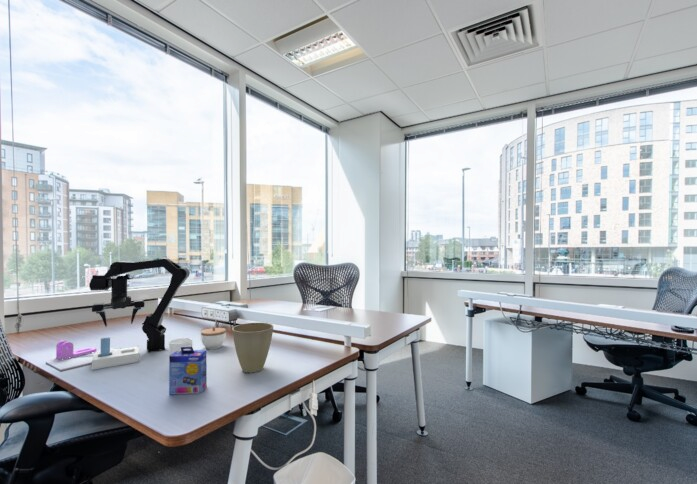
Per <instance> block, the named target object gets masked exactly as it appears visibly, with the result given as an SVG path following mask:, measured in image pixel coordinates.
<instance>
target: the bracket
mask: <svg viewBox="0 0 697 484" xmlns="http://www.w3.org/2000/svg"><path fill="white" fill-rule="evenodd" d="M55 349H56V351H55V352H56V355H55V358H56V359H57V358H58V360H60V359H65V358H69V357H73V358H76V357H75V356H78V357H80V356H79V355H82V356H84V355H83V354H86V355H88V354H87V353H90V354H92V352H94V353H97V347H86V348H81V349H76V350H74V343H73V342H71V341H66V340H60V341H58V342H57V344H56V347H55ZM69 359H70V358H69ZM65 360H66V359H65Z"/></svg>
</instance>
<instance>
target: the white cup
mask: <svg viewBox="0 0 697 484" xmlns="http://www.w3.org/2000/svg"><path fill="white" fill-rule="evenodd" d="M168 345H169V356H170V355H171V354H173V353H174V352H176V351H181V347H192V348H193V339H192V338H190V337H189V338H188V337H183V338H176V339H175V338H174V339H173V340H170V341H168ZM183 350H191V349H183Z"/></svg>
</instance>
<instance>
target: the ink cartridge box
mask: <svg viewBox="0 0 697 484" xmlns="http://www.w3.org/2000/svg"><path fill="white" fill-rule="evenodd" d="M183 349H191V350H183ZM168 357H169V358H168V361H169V362H168V363H169V364H168V368H169V369H168V370H169V371H168V372H169V373H168V375H169V376H168V382H169V383H168V395H199V394H202V393H203V391H204V390H206V388H207V386H208V385H207V382H208V381H207V377H208V376H207V374H208V373H207V370H208V369H207V367H208V366H207V365H208V364H207V349H205V350H204V349H203V350H202V349H201V350H199V349H198V350H195V349H194V348H193V346H192V347H181V351H176V352H174V353H173V354H171V355H170V354H169V356H168Z"/></svg>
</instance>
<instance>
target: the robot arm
mask: <svg viewBox="0 0 697 484" xmlns="http://www.w3.org/2000/svg"><path fill="white" fill-rule="evenodd" d="M158 268H163V269H165V270H166V271H167V272H168V273H169V274H170V275H171V278H170V282H169V286H168V287H167V289H166V291H165V292H164V294H163V296H162V298H161V300H160V301H159V303H158V305H157V306H156V308H155V310H154V312H153V313H149V314H148V315H146V316H145V320H144V321H143V322H142V323H141V325H142V327H141V330H142V332H143V333H144V334H145V335H146V338H147V339H146V350H147V352H148V353H152V352H158V351H163V350H164V351H165V350H166V346H165V345H166V344H165V343H166V341H165V340H166V338H165V337H166V335H165V333H166V331H167V327H165V326H164V325H162V323H163V320H164V315H165V313H166V311H167V310H168V307H169V306H170V304H171V303H172V301H173V299H174V298H175V295H176V294H177V292H178V291H179V288H180V287H181V286H182V285H183V284H184V283H185V281H186V280H187V279H188V278H189V277H190V270H189V269H188V268H187V267H182V266H181V265H179V264H178V263H176V262H174V261H172V260H171V259H170V258H168V257H167V258H166V257H165V258H162V259H154V260H145V261H125V260H123V261H114V262H112V263H111V264H110V266H109V269H108V270H107V272H106V273H105V274H103V275H102V274H94V275H92V276H91V277H92V278H91V279H90V281H89V284H88V285H89V289H90V291H91V292H92V291H95V292H96V291H98V292H99V291H108V290H110V289H111V292H110V293H111V294H110V295H111V298H110V303H109V304H105V302H99V303H93V305H92V307H91V312H92V313H95V314H99V316H100V317H101V319H102V321H103V324H104V326H105V327H106V328H107V327H108V323H107V316H106V315H107V314H106V310H107V309H112V310H118V309H126V308H129V307H130V308H131V307H132V311H131V312H132V313H131V318H130V319H131V320H130V324H131V325H132V324H133V323H134V320H135V317H136V315H137V313H138V311H139V310H141V309H142V308H145V300H144V299H135V300H133V302H132V295H130V296H128V280H133V278H134V277H132V276H131V275H130V274H129V273H132V272H135V271H141V270H147V269H158ZM123 274H125V275H123Z"/></svg>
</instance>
